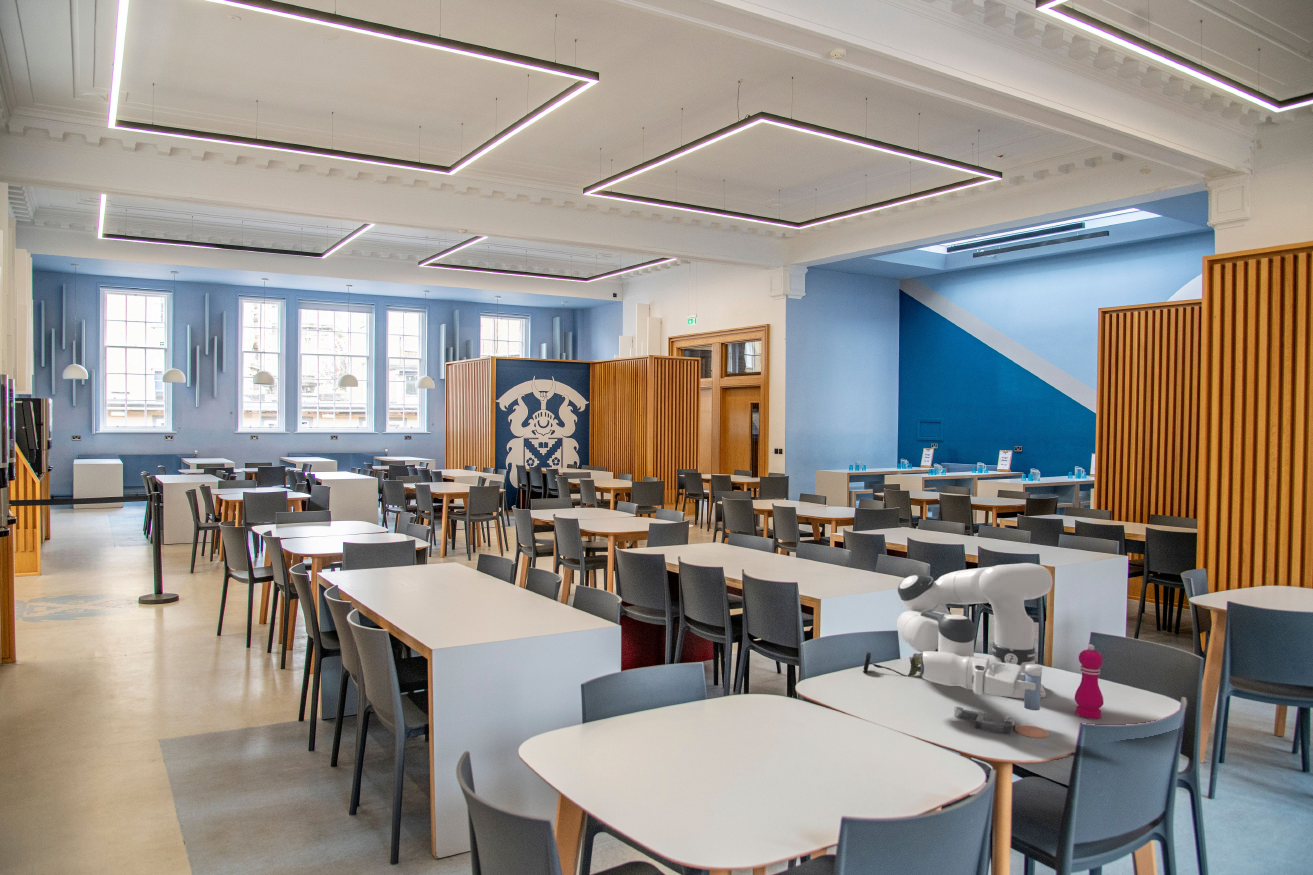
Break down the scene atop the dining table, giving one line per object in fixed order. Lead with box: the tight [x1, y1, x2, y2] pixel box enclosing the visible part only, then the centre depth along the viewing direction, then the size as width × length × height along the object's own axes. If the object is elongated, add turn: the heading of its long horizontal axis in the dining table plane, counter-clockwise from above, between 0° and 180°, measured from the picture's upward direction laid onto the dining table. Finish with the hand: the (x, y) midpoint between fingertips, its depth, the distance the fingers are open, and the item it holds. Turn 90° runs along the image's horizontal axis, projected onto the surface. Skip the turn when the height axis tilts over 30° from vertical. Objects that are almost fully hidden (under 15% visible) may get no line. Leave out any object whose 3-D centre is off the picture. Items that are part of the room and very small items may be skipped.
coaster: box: [1014, 724, 1050, 739], centre depth 216 cm, size 8×8×1 cm
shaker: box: [1023, 664, 1043, 711], centre depth 216 cm, size 4×4×11 cm
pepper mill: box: [1074, 644, 1104, 720], centre depth 231 cm, size 7×7×20 cm
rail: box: [953, 706, 1015, 736], centre depth 220 cm, size 8×15×2 cm, turn 60°
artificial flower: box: [862, 651, 923, 677], centre depth 264 cm, size 9×22×10 cm, turn 76°
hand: (1036, 683), depth 215 cm, fingers closed on shaker, 4 cm apart
